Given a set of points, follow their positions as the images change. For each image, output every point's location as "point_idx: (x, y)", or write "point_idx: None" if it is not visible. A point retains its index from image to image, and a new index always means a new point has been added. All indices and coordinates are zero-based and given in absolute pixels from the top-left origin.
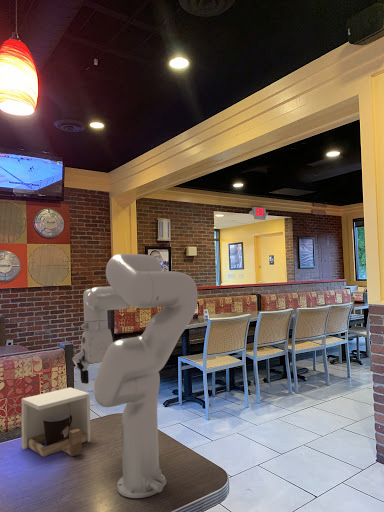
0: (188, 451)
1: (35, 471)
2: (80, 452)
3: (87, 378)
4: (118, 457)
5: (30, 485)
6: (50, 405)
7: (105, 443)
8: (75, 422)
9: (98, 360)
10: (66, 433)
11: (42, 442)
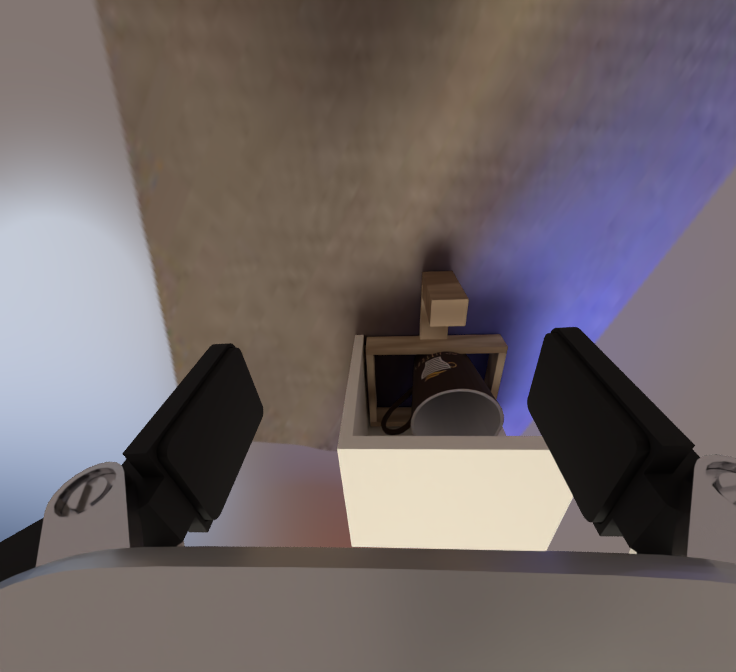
0: None
1: (566, 270)
2: (427, 272)
3: (594, 356)
4: (352, 148)
5: (638, 192)
6: (534, 441)
7: (330, 287)
8: (365, 417)
9: (544, 617)
10: (432, 363)
11: None
